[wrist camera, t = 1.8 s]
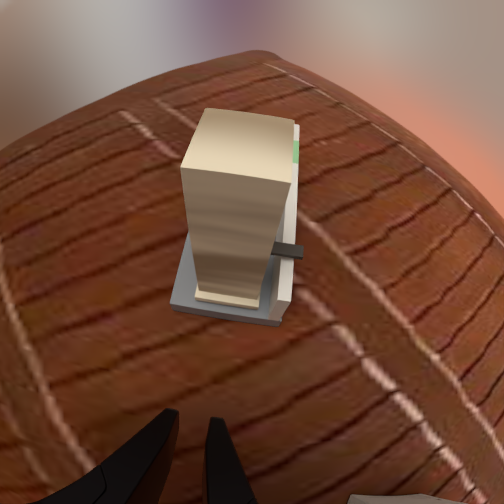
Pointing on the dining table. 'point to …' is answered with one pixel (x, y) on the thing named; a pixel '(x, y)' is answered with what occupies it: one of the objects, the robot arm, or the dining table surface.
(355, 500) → the supplement box
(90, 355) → the dining table surface
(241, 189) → the beige brown box
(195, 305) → the board
